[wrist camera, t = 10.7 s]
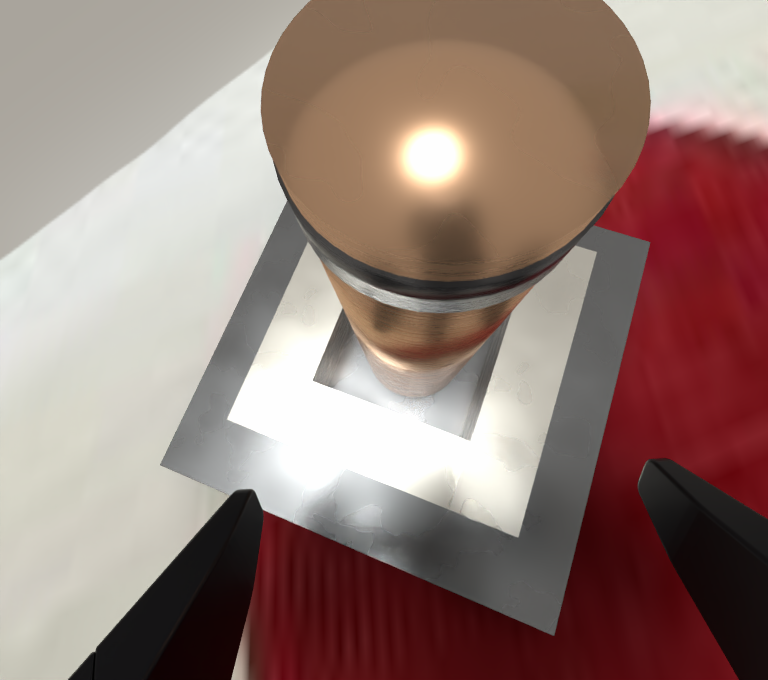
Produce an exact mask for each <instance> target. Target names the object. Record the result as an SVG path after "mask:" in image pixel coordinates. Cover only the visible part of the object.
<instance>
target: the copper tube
mask: <svg viewBox="0 0 768 680" xmlns="http://www.w3.org/2000/svg"><path fill="white" fill-rule="evenodd" d="M650 104H651V100H650V90H649V80H648V76H647V73H646V69H645V65H644V61H643V59H642V56H641V54H640V52H639V50H638V47H637V45H636V43H635V41H634V39H633V38H632V36H631V34H630V33H629V31H628V30H627V28H626V27H625V25H624V23H623V22H622V21H621V20H620V19H619V17H618V16H617V15H616V14H615V13H614V12H613V10H612V9H611V8H610V7H609V6H608V5H607V4H606V3H605V2H604V1H603V0H311V1H310V2H308V3H307V5H306V6H305V7H304V8H303V9H302V10H301V11H300V12H299V13H298V14H297V15H296V16H295V17H294V18H293V20H292V21H291V23H290V24H289V25H288V27H287V28H286V29H285V31H284V32H283V34H282V36H281V37H280V39H279V41H278V43H277V45H276V46H275V48H274V50H273V52H272V55H271V58H270V60H269V63H268V66H267V68H266V72H265V77H264V82H263V86H262V96H261V116H262V125H263V132H264V135H265V139H266V143H267V146H268V150H269V152H270V154H271V157H272V159H273V163H274V166H275V170H276V173H277V177H278V180H279V183H280V185H281V187H282V189H283V192H284V194H285V196H286V198H287V200H288V202H289V204H290V206H291V208H292V210H293V213H294V215H295V217H296V219H297V221H298V223H299V225H300V227H301V229H302V231H303V233H304V235H305V237H306V239H307V241H308V242H309V244H310V245H311V247H312V248H313V250H314V252H315V253H316V255H317V256H318V257H319V259H320V261H321V263H322V265H323V267H324V269H325V271H326V273H327V276H328V278H329V280H330V282H331V284H332V286H333V288H334V290H335V292H336V295H337V297H338V299H339V301H340V303H341V305H342V307H343V309H344V312H345V314H346V316H347V318H348V320H349V322H350V324H351V326H352V328H353V331H354V333H355V335H356V337H357V339H358V341H359V343H360V345H361V348H362V350H363V352H364V354H365V356H366V358H367V360H368V362H369V364H370V367H371V369H372V371H373V373H374V374H375V376H376V378H377V379H378V380H379V381H380V382H381V383H382V384H383V385H384V386H385V387H386V388H388V389H389V390H390V391H392V392H394V393H396V394H399V395H402V396H406V397H424V396H428V395H431V394H434V393H436V392H438V391H440V390H441V389H443V388H444V387H445V386H447V385H448V384H449V383H450V382H451V380H452V379H453V378H454V377H455V376H456V375H457V374H458V372H459V371H460V370H461V369H462V368H463V367H464V366H465V364H466V363H467V362H468V361H469V360H470V359H471V358H472V356H473V355H474V354H475V353H476V352H477V351H478V350H479V348H480V347H481V346H482V345H483V344H484V343H485V342H486V341H487V339H488V338H489V337H490V336H491V335H492V334H493V333H494V331H495V330H496V329H497V328H498V327H499V326H500V325H501V323H502V322H503V321H504V320H505V319H506V318H507V317H508V315H509V314H510V313H511V312H512V311H513V310H514V309H515V307H516V306H517V305H518V304H519V303H520V302H521V301H522V299H523V298H524V297H525V296H526V295H527V294H528V293H529V291H530V290H531V289H532V288H533V287H534V286H535V285H536V284H537V283H538V282H539V281H541V280H542V279H543V278H544V277H545V276H546V275H548V274H549V273H550V272H551V271H552V270H553V269H554V268H555V267H556V266H557V265H558V264H559V263H560V262H561V261H562V260H563V258H564V257H565V256H566V255H567V254H568V253H569V252H570V251H571V250H572V248H573V247H574V246H575V245H576V244H577V243H578V242H579V241H580V240H581V239H582V237H583V236H584V235H585V234H586V233H587V232H588V231H589V230H590V228H591V227H592V226H593V225H594V224H595V223H596V222H597V221H598V219H599V218H600V217H601V216H602V215H603V213H604V211H605V210H606V208H607V207H608V205H609V204H610V202H611V201H612V199H613V197H614V195H615V193H616V192H617V191H618V190H619V189H620V188H621V187H622V185H623V184H624V182H625V180H626V179H627V177H628V176H629V174H630V173H631V171H632V169H633V168H634V166H635V164H636V162H637V160H638V157H639V155H640V153H641V150H642V148H643V146H644V142H645V138H646V134H647V130H648V126H649V118H650Z"/></svg>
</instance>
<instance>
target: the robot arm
mask: <svg viewBox="0 0 768 680" xmlns="http://www.w3.org/2000/svg"><path fill="white" fill-rule="evenodd" d="M638 490H639V494H640V496H641V498H642V500H643V503H644V505H645V507H646V509H647V511H648V513H649V516H650V518H651V520H652V522H653V524H654V526H655V529H656V531H657V533H658V535H659V537H660V539H661V542H662V544H663V546H664V548H665V550H666V552H667V554H668V556H669V558H670V560H671V562H672V564H673V566H674V568H675V570H676V571H677V573H678V575H679V577H680V578H681V580H682V582H683V584H684V585H685V587H686V589H687V591H688V592H689V594H690V596H691V597H692V599H693V601H694V603H695V604H696V606H697V608H698V610H699V611H700V613H701V615H702V616H703V618H704V620H705V622H706V623H707V625H708V627H709V629H710V630H711V632H712V634H713V635H714V637H715V639H716V641H717V642H718V644H719V646H720V648H721V649H722V651H723V653H724V654H725V656H726V658H727V660H728V661H729V663H730V665H731V667H732V668H733V670H734V672H735V673H736V675H737V677H738V679H739V680H768V519H767V518H765V517H763V516H762V515H760V514H758V513H757V512H755V511H754V510H752V509H750V508H749V507H747V506H745V505H744V504H742V503H741V502H739V501H737V500H736V499H734V498H732V497H731V496H729V495H728V494H726V493H724V492H723V491H721V490H719V489H718V488H716V487H715V486H713V485H711V484H710V483H708V482H706V481H705V480H703V479H701V478H700V477H698V476H697V475H695V474H693V473H692V472H690V471H688V470H687V469H685V468H684V467H682V466H680V465H679V464H677V463H675V462H674V461H672V460H670V459H667V458H659V459H649V460H648V461H646V463H645V465H644V468H643V471H642V473H641V476H640V478H639V481H638ZM262 525H263V510H262V507H261V505H260V502H259V500H258V497H257V494H256V492H255V490H253V489H239V490H236V491H234V492H233V493H232V494H231V495H230V497H229V498H228V499H227V500H226V501H225V502H224V503H223V504H222V506H221V507H220V508H219V509H218V510H217V511H216V512H215V514H214V515H213V516H212V517H211V518H210V519H209V520H208V522H207V523H206V524H205V525H204V526H203V527H202V528H201V529H200V531H199V532H198V533H197V534H196V535H195V536H194V537H193V539H192V540H191V541H190V542H189V543H188V544H187V545H186V546H185V548H184V549H183V550H182V551H181V552H180V553H179V554H178V556H177V557H176V558H175V559H174V560H173V561H172V562H171V563H170V565H169V566H168V567H167V568H166V569H165V570H164V571H163V573H162V574H161V575H160V576H159V577H158V578H157V579H156V581H155V582H154V583H153V584H152V585H151V586H150V587H149V588H148V590H147V591H146V592H145V593H144V594H143V595H142V596H141V598H140V599H139V600H138V601H137V602H136V603H135V604H134V605H133V607H132V608H131V609H130V610H129V611H128V612H127V613H126V615H125V616H124V617H123V618H122V619H121V620H120V621H119V623H118V624H117V625H116V626H115V627H114V628H113V629H112V630H111V632H110V633H109V634H108V635H107V636H106V637H105V638H104V640H103V641H102V642H101V643H100V644H99V645H98V646H97V648H96V651H95V652H92V653H91V654H90V655H89V656H88V657H87V659H86V660H85V661H84V662H83V663H82V664H81V665H80V667H79V668H78V669H77V670H76V671H75V672H74V673H73V674H72V676H71V677H70V678H69V679H68V680H231V678H232V674H233V670H234V666H235V662H236V658H237V653H238V649H239V645H240V641H241V637H242V633H243V629H244V625H245V621H246V617H247V613H248V609H249V605H250V601H251V596H252V592H253V587H254V581H255V574H256V567H257V560H258V553H259V546H260V539H261V532H262Z"/></svg>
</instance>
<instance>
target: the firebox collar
mask: <svg viewBox="0 0 768 680" xmlns="http://www.w3.org/2000/svg"><path fill="white" fill-rule="evenodd" d="M649 245H650V242H647V241H644V240H641V239H637V238H634V237H631V236H627V235H624V234H620V233H617V232H614V231H610V230H607V229H603V228H600V227H597V226H592V227H591V228H590V230H589V231H588V232H587V233H586V234H585V235H584V236H583V237H582V239H581V240H580V241H579V242H578V243H577V244H576V245H575V246H574V247H573V248H572V250H571V251H570V252H569V253H568V254H567V255H566V256H565V257H564V258H563V260H562V261H561V262H560V263H559V264H558V265H557V266H556V267H555V268H554V269H553V270H552V271H551V272H550V273H549V274H548V275H546V276H545V277H544V278H543V279H542V280H541V281H539V282H538V283H537V284H536V285H535V286H534V287H533V288H532V289H531V290H530V291H529V293H528V294H527V295H526V296H525V297H524V298H523V299H522V301H521V302H520V303H519V304H518V305H517V306H516V307H515V309H514V310H513V311H512V312H511V313H510V314H509V315H508V317H507V318H506V319H505V320H504V321H503V322H502V323H501V325H500V326H499V327H498V328H497V329H496V330H495V331H494V333H493V334H492V335H491V336H490V337H489V338H488V339H487V341H486V342H485V343H484V344H483V345H482V346H481V347H480V348H479V350H478V351H477V352H476V353H475V354H474V355H473V356H472V358H471V359H470V360H469V361H468V362H467V363H466V364H465V366H464V367H463V368H462V369H461V370H460V371H459V372H458V374H457V375H456V376H455V377H454V378H453V379H452V380H451V382H450V383H449V384H448V385H447V386H445V387H444V388H443V389H441V390H440V391H438V392H436V393H434V394H431V395H428V396H424V397H406V396H402V395H399V394H396V393H394V392H392V391H390V390H389V389H388V388H386V387H385V386H384V385H383V384H382V383H381V382H380V381H379V380H378V379H377V378H376V376H375V374H374V373H373V371H372V369H371V367H370V364H369V362H368V360H367V358H366V356H365V354H364V352H363V350H362V348H361V345H360V343H359V341H358V339H357V337H356V335H355V333H354V331H353V328H352V326H351V324H350V322H349V320H348V318H347V316H346V314H345V312H344V309H343V307H342V305H341V303H340V301H339V299H338V297H337V295H336V292H335V290H334V288H333V286H332V284H331V282H330V280H329V278H328V276H327V273H326V271H325V269H324V267H323V265H322V263H321V261H320V259H319V257H318V256H317V255H316V253H315V252H314V250H313V248H312V247H311V245H310V244H309V242H308V241H307V239H306V237H305V235H304V233H303V231H302V229H301V227H300V225H299V223H298V221H297V219H296V217H295V215H294V213H293V210H292V208H291V206H290V204H289V202H288V201H287V203H286V205H285V207H284V209H283V211H282V213H281V215H280V217H279V219H278V221H277V223H276V225H275V227H274V230H273V232H272V234H271V236H270V238H269V240H268V242H267V244H266V246H265V248H264V250H263V252H262V254H261V257H260V259H259V261H258V263H257V265H256V267H255V269H254V271H253V273H252V275H251V277H250V279H249V281H248V283H247V286H246V288H245V290H244V292H243V294H242V296H241V298H240V300H239V302H238V304H237V306H236V308H235V310H234V313H233V315H232V317H231V319H230V321H229V323H228V325H227V327H226V329H225V331H224V333H223V335H222V337H221V340H220V342H219V344H218V346H217V348H216V350H215V352H214V354H213V356H212V358H211V360H210V362H209V364H208V366H207V369H206V371H205V373H204V375H203V377H202V379H201V381H200V383H199V385H198V387H197V389H196V391H195V393H194V396H193V398H192V400H191V402H190V404H189V406H188V408H187V410H186V412H185V414H184V416H183V418H182V420H181V423H180V425H179V427H178V429H177V431H176V433H175V435H174V437H173V439H172V441H171V443H170V445H169V447H168V449H167V452H166V454H165V456H164V458H163V460H162V462H161V464H160V465H161V466H163V467H166V468H168V469H170V470H173V471H175V472H177V473H179V474H182V475H184V476H186V477H189V478H191V479H193V480H196V481H198V482H200V483H203V484H205V485H207V486H209V487H212V488H214V489H216V490H219V491H221V492H223V493H226V494H228V495H231V494H232V493H233V492H234V491H236V490H239V489H253V490H255V492H256V494H257V497H258V500H259V502H260V505H261V507H262V510H265V511H267V512H269V513H272V514H274V515H276V516H279V517H281V518H283V519H286V520H288V521H290V522H292V523H295V524H297V525H299V526H302V527H304V528H306V529H309V530H311V531H313V532H315V533H318V534H320V535H322V536H325V537H327V538H329V539H332V540H334V541H336V542H339V543H341V544H343V545H345V546H348V547H350V548H352V549H355V550H357V551H359V552H362V553H364V554H366V555H369V556H371V557H373V558H375V559H378V560H380V561H382V562H385V563H387V564H389V565H392V566H394V567H396V568H398V569H401V570H403V571H405V572H408V573H410V574H412V575H415V576H417V577H419V578H422V579H424V580H426V581H428V582H431V583H433V584H435V585H438V586H440V587H442V588H445V589H447V590H449V591H452V592H454V593H456V594H458V595H461V596H463V597H465V598H468V599H470V600H472V601H475V602H477V603H479V604H481V605H484V606H486V607H488V608H491V609H493V610H495V611H498V612H500V613H502V614H505V615H507V616H509V617H511V618H514V619H516V620H518V621H521V622H523V623H525V624H528V625H530V626H532V627H535V628H537V629H539V630H541V631H544V632H546V633H548V634H551V635H553V636H554V634H555V630H556V626H557V622H558V618H559V614H560V610H561V606H562V602H563V597H564V593H565V589H566V585H567V581H568V577H569V573H570V569H571V565H572V561H573V556H574V552H575V548H576V544H577V540H578V536H579V532H580V528H581V524H582V520H583V516H584V511H585V507H586V503H587V499H588V495H589V491H590V487H591V483H592V479H593V475H594V471H595V466H596V462H597V458H598V454H599V450H600V446H601V442H602V438H603V434H604V430H605V426H606V421H607V417H608V413H609V409H610V405H611V401H612V397H613V393H614V389H615V385H616V380H617V376H618V372H619V368H620V364H621V360H622V356H623V352H624V348H625V344H626V340H627V335H628V331H629V327H630V323H631V319H632V315H633V311H634V307H635V303H636V299H637V295H638V290H639V286H640V282H641V278H642V274H643V270H644V266H645V262H646V258H647V254H648V250H649Z"/></svg>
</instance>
